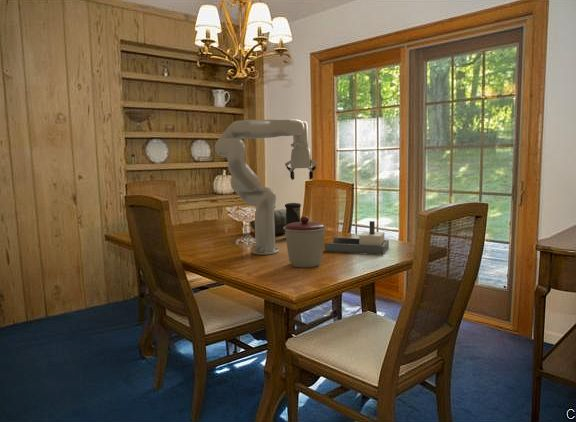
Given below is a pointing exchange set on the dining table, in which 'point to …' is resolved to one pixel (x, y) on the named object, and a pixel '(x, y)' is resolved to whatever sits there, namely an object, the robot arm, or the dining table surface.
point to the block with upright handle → (371, 236)
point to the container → (292, 212)
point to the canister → (305, 242)
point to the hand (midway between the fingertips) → (301, 179)
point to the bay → (355, 246)
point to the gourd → (277, 221)
